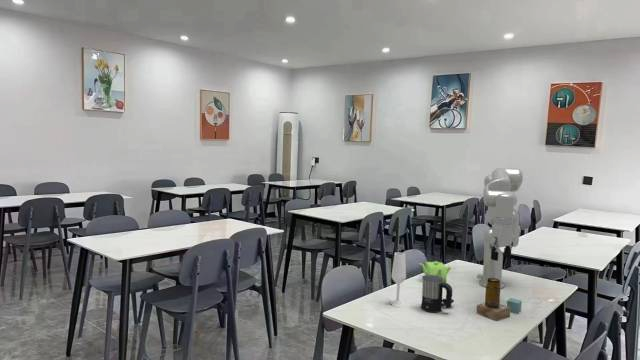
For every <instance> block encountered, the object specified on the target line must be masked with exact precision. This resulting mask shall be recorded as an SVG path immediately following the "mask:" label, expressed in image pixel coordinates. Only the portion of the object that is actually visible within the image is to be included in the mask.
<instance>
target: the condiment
mask: <svg viewBox="0 0 640 360" xmlns="http://www.w3.org/2000/svg"><path fill="white" fill-rule="evenodd" d="M500 299H501V289H500V280H499V279H496V278H488V279H487V285H486V287H485V297H484V302H482V303H479V304H482V305H484V306H486V307H489V308H491V309H494V310H500V309H505V307H503V306H501V305H502V304H501V305H499V304H500Z"/></svg>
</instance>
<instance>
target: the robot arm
mask: <svg viewBox="0 0 640 360" xmlns="http://www.w3.org/2000/svg"><path fill="white" fill-rule="evenodd" d="M523 177H524V176H523V172H522V170H520V169H519V168H514V167H513V168H511V167H499V168H494V170H493V171H492V172H491V174H490V175H489V174H488V175H487V176H485V177H484V181H483V183H484V188H483V194H482V195H483V198H482V199H483V203H484V205H485V206H487V218H486V219H487V222H488V224H489V225H493V226H492V227H487V228H485V230H484V231H483V245H484V246H483V247H484V248H483V249H484V250H483V264H482V265H483V266H482V274H481V273H477V275H476V278H477V279H479V282H478V284H479V286H481V287H484V288H486V285H487V279H488V278H496V279H499V280H500V290H501V289H503V288H505V284H504V283H503V282H502V276H503V275H502V274H503V261H504V258H508V259H510V258H512V249H513V248H516V247H517V246H518V245H519V241H520V221H521V220H520V213H519V210H517V209H515V205H516V206H517V201H518V196H517V195H516V193H515V192H517V191H519V189H520V188H521V185H522V184H523V180H524V178H523ZM500 248H504V249H503V250H504V251H503V252H502V250H501V249H500Z"/></svg>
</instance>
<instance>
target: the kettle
mask: <svg viewBox="0 0 640 360" xmlns="http://www.w3.org/2000/svg"><path fill="white" fill-rule="evenodd" d="M418 264H419V265H420V266H421V267H422V271H423V274H424V275H436V276H440V277H442V278H443V280H442V282H445V283H447V278H448V276H447V275H448V273H449V272H450V271H451V269H452V267H451V266H448V267H447V266H446V265H445V264H444V263H443V262H439V261H425V264H424V263H418Z"/></svg>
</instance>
